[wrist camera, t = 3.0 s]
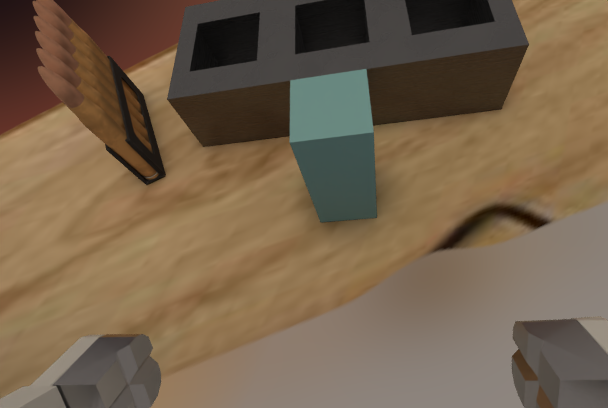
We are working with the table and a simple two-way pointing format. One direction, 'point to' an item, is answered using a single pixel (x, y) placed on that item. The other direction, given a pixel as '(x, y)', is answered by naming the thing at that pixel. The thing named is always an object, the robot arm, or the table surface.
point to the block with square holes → (340, 59)
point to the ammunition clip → (96, 91)
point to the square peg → (335, 143)
